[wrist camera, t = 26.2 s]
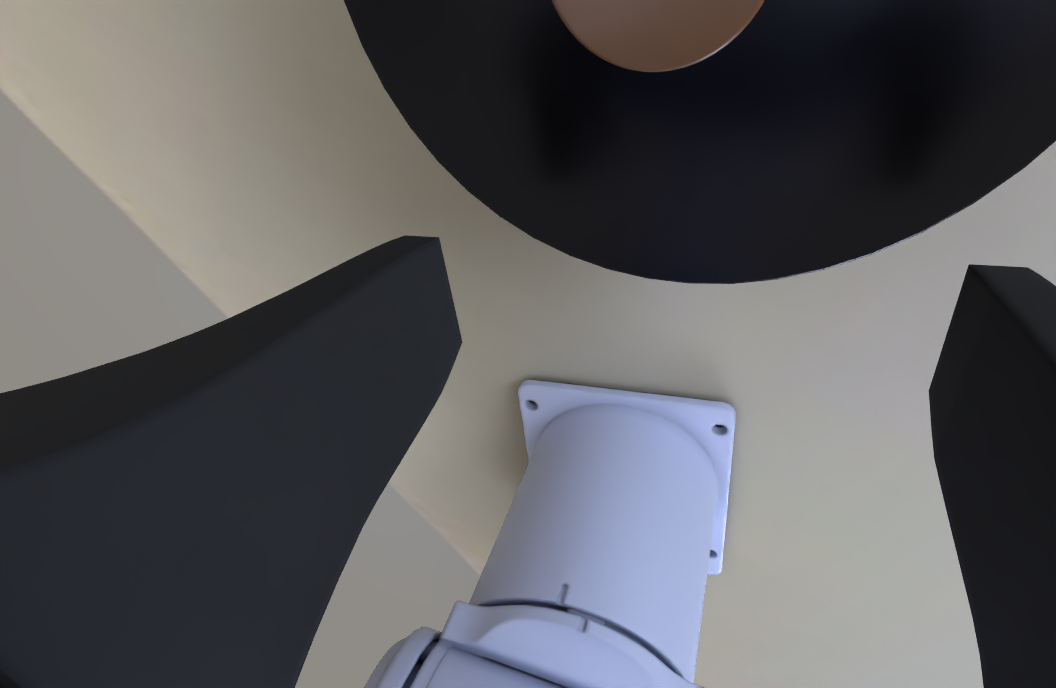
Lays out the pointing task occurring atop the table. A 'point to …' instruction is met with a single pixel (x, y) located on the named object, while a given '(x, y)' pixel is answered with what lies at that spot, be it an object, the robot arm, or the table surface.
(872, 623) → the table surface
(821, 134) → the lid
